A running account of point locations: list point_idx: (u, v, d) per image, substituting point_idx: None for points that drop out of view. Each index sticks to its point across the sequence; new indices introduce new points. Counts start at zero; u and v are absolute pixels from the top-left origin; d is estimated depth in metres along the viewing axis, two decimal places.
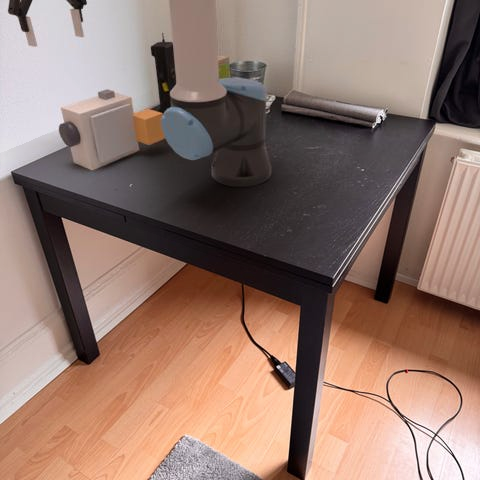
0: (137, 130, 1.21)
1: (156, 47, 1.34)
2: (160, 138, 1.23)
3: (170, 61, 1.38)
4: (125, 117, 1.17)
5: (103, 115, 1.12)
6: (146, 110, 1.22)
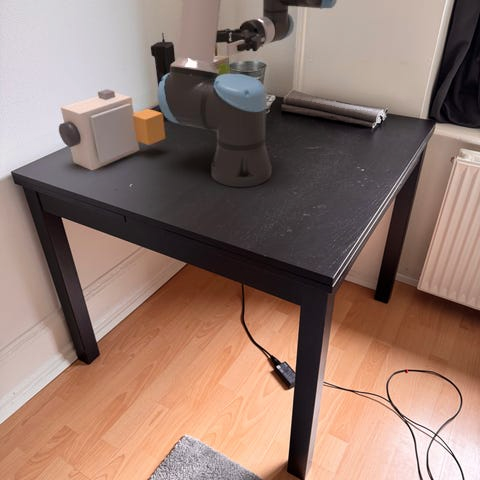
0: (137, 130, 1.21)
1: (156, 47, 1.34)
2: (160, 138, 1.23)
3: (170, 61, 1.38)
4: (125, 117, 1.17)
5: (103, 115, 1.12)
6: (146, 110, 1.22)
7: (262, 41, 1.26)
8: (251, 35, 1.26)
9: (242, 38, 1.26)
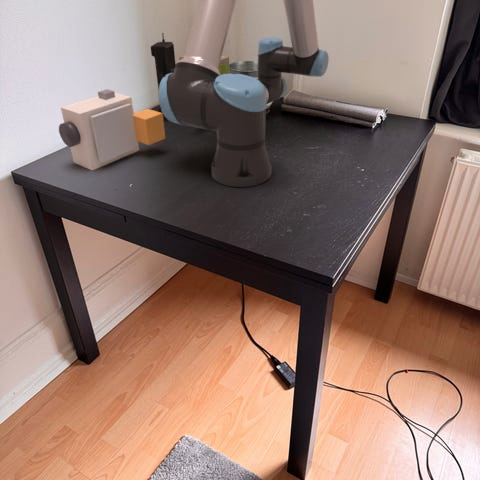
0: (137, 130, 1.21)
1: (156, 47, 1.34)
2: (160, 138, 1.23)
3: (170, 61, 1.38)
4: (125, 117, 1.17)
5: (103, 115, 1.12)
6: (146, 110, 1.22)
7: None
8: None
9: None
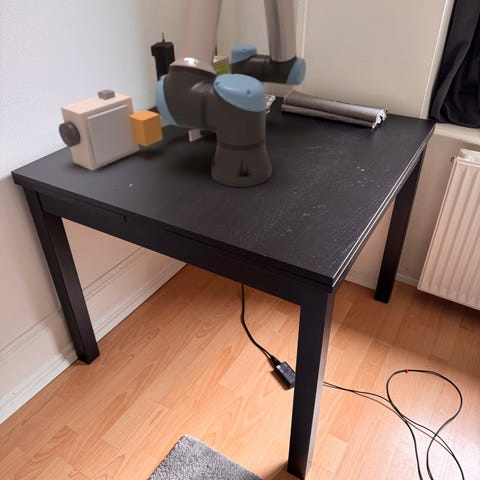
0: (134, 131, 1.20)
1: (156, 47, 1.34)
2: (157, 139, 1.22)
3: (170, 61, 1.38)
4: (122, 118, 1.17)
5: (100, 116, 1.11)
6: (143, 111, 1.22)
7: None
8: None
9: None
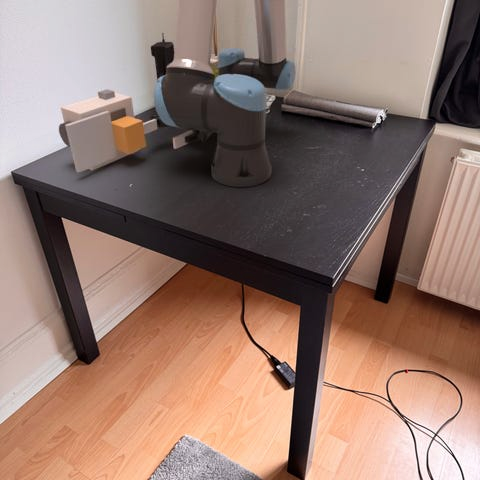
0: (116, 138, 1.16)
1: (156, 47, 1.34)
2: (140, 146, 1.18)
3: (170, 61, 1.38)
4: (103, 125, 1.13)
5: (79, 123, 1.07)
6: (126, 117, 1.18)
7: None
8: None
9: None
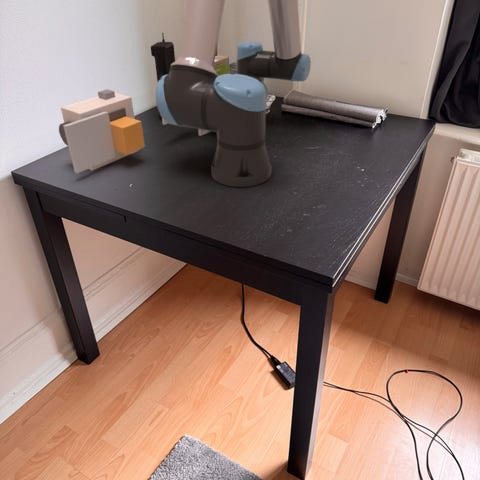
0: (114, 139, 1.16)
1: (156, 47, 1.34)
2: (139, 147, 1.18)
3: (170, 61, 1.38)
4: (102, 125, 1.13)
5: (77, 124, 1.07)
6: (124, 118, 1.17)
7: None
8: None
9: None
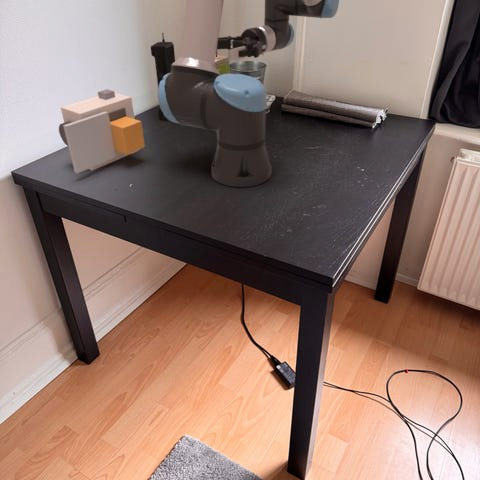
0: (114, 139, 1.16)
1: (156, 47, 1.34)
2: (139, 147, 1.18)
3: (170, 61, 1.38)
4: (102, 125, 1.13)
5: (77, 124, 1.07)
6: (124, 118, 1.17)
7: (263, 48, 1.27)
8: (252, 42, 1.28)
9: (243, 45, 1.27)
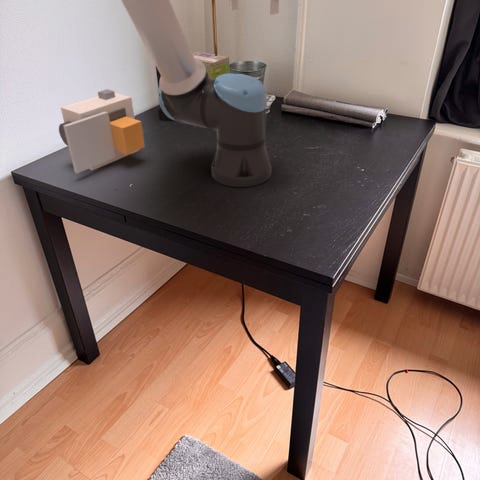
0: (114, 139, 1.16)
1: None
2: (139, 147, 1.18)
3: None
4: (102, 125, 1.13)
5: (77, 124, 1.07)
6: (124, 118, 1.17)
7: None
8: None
9: None
